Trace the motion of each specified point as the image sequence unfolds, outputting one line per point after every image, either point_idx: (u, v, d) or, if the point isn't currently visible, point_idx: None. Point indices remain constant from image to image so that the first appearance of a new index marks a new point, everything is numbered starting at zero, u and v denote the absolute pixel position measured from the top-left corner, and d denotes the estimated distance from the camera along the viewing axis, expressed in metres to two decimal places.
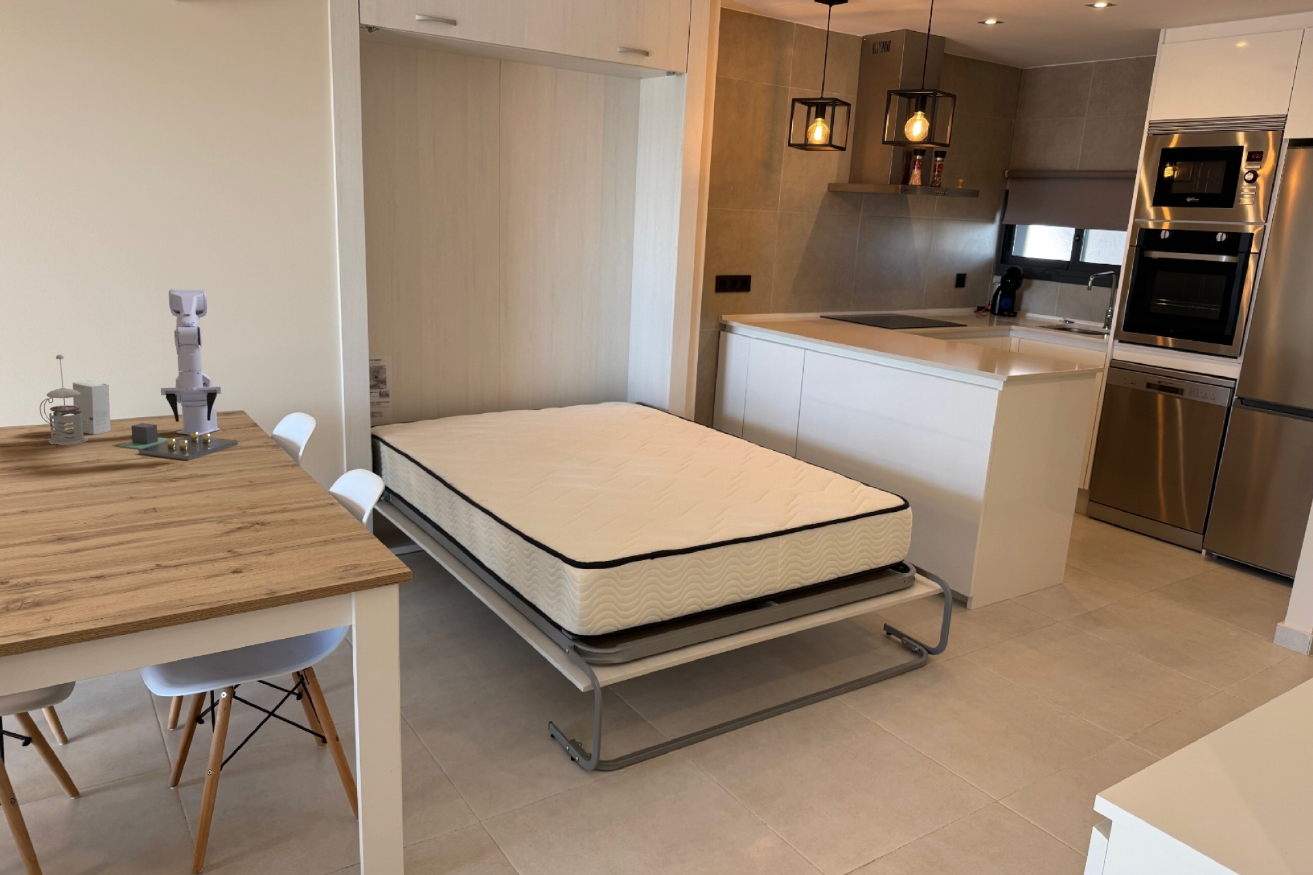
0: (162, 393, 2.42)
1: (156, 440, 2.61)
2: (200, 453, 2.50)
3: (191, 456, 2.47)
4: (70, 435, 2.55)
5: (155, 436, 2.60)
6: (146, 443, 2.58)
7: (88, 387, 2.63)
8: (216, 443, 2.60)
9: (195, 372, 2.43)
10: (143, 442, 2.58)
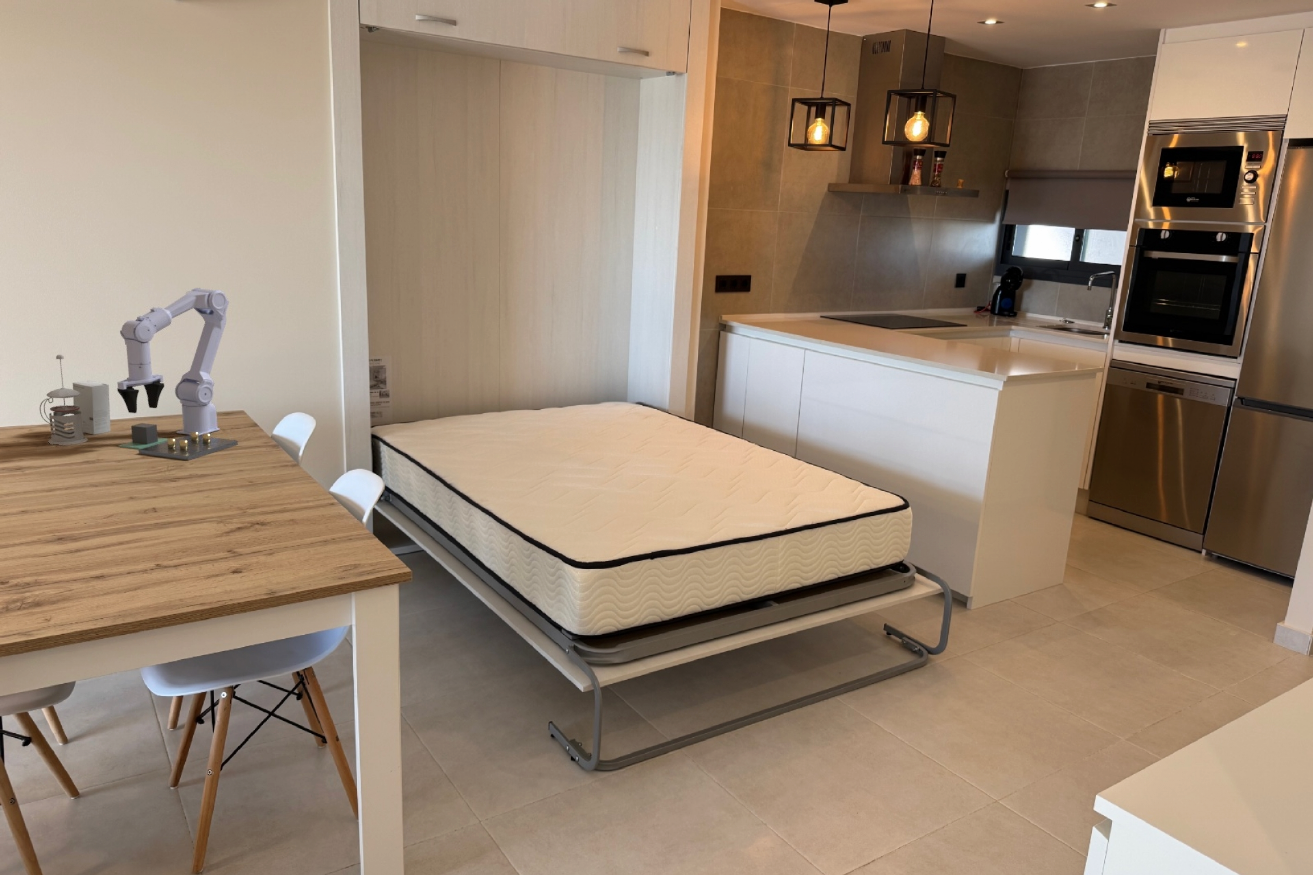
0: None
1: (156, 440, 2.61)
2: (200, 453, 2.50)
3: (191, 456, 2.47)
4: (70, 435, 2.55)
5: (155, 436, 2.60)
6: (146, 443, 2.58)
7: (88, 387, 2.63)
8: (216, 443, 2.60)
9: None
10: (143, 442, 2.58)
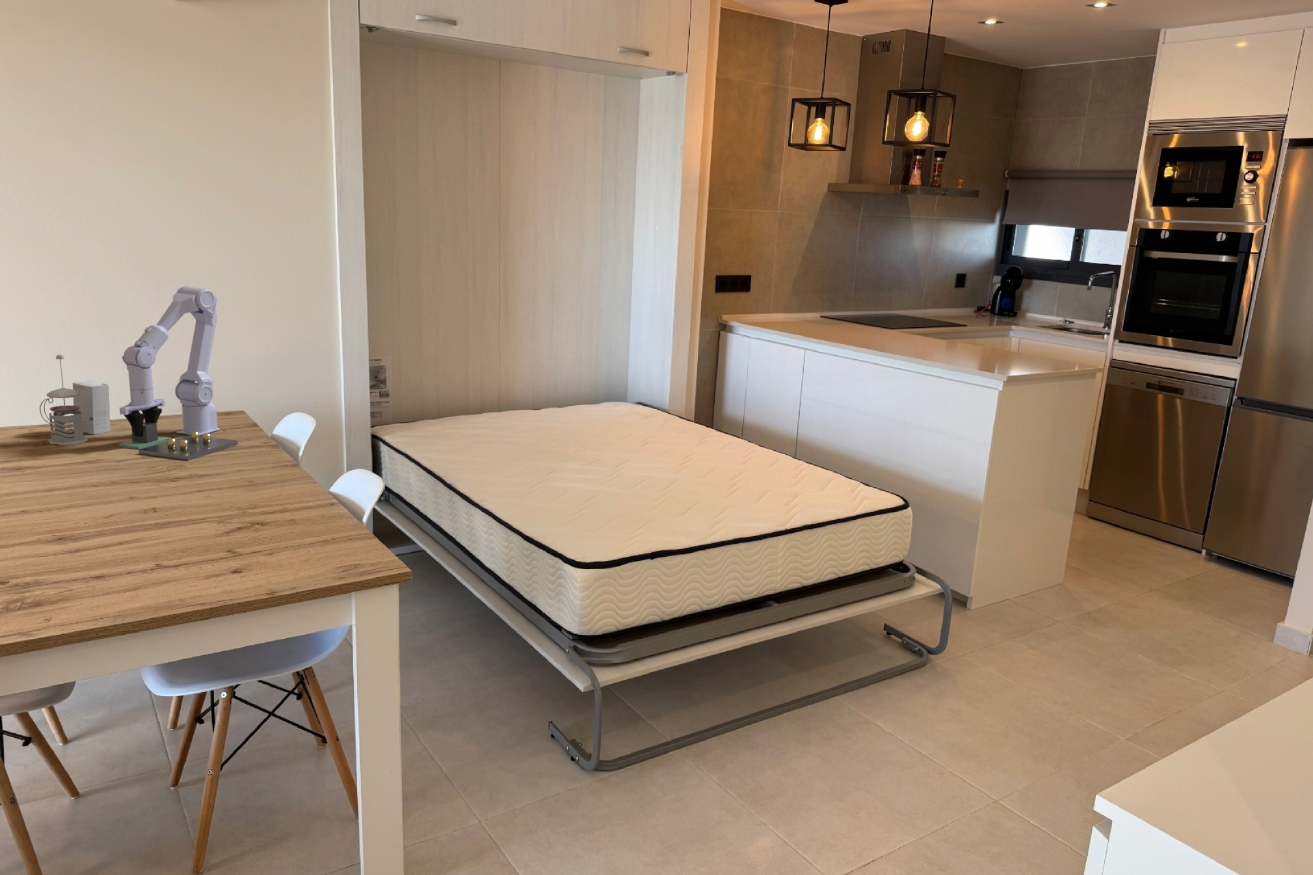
0: None
1: (156, 439, 2.61)
2: (200, 453, 2.50)
3: (191, 456, 2.47)
4: (70, 435, 2.55)
5: (155, 435, 2.60)
6: (146, 442, 2.58)
7: (88, 387, 2.63)
8: (216, 443, 2.60)
9: None
10: (143, 441, 2.58)
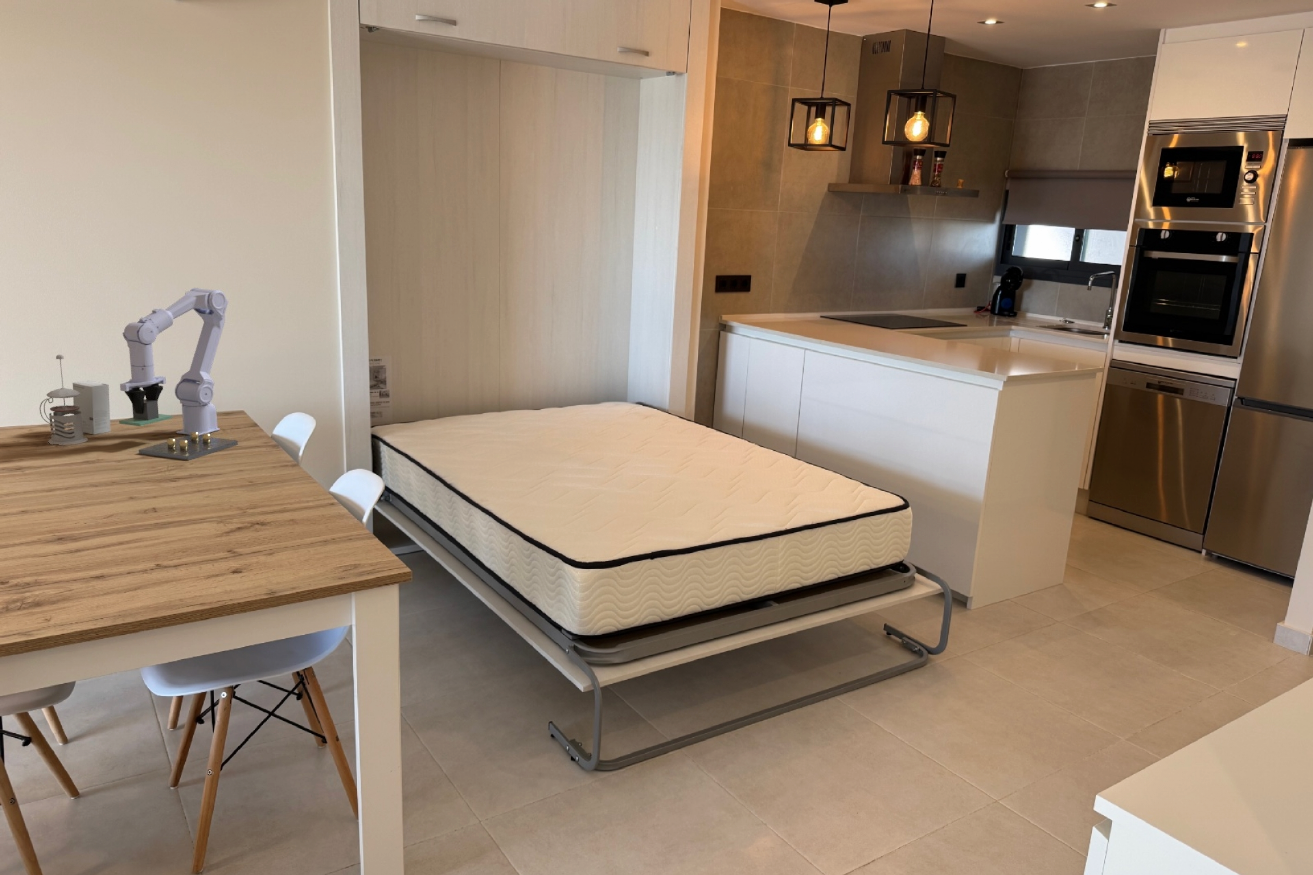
0: None
1: (157, 416, 2.59)
2: (200, 453, 2.50)
3: (191, 456, 2.47)
4: (70, 435, 2.55)
5: (156, 412, 2.59)
6: (147, 419, 2.56)
7: (88, 387, 2.63)
8: (216, 443, 2.60)
9: None
10: (144, 418, 2.56)
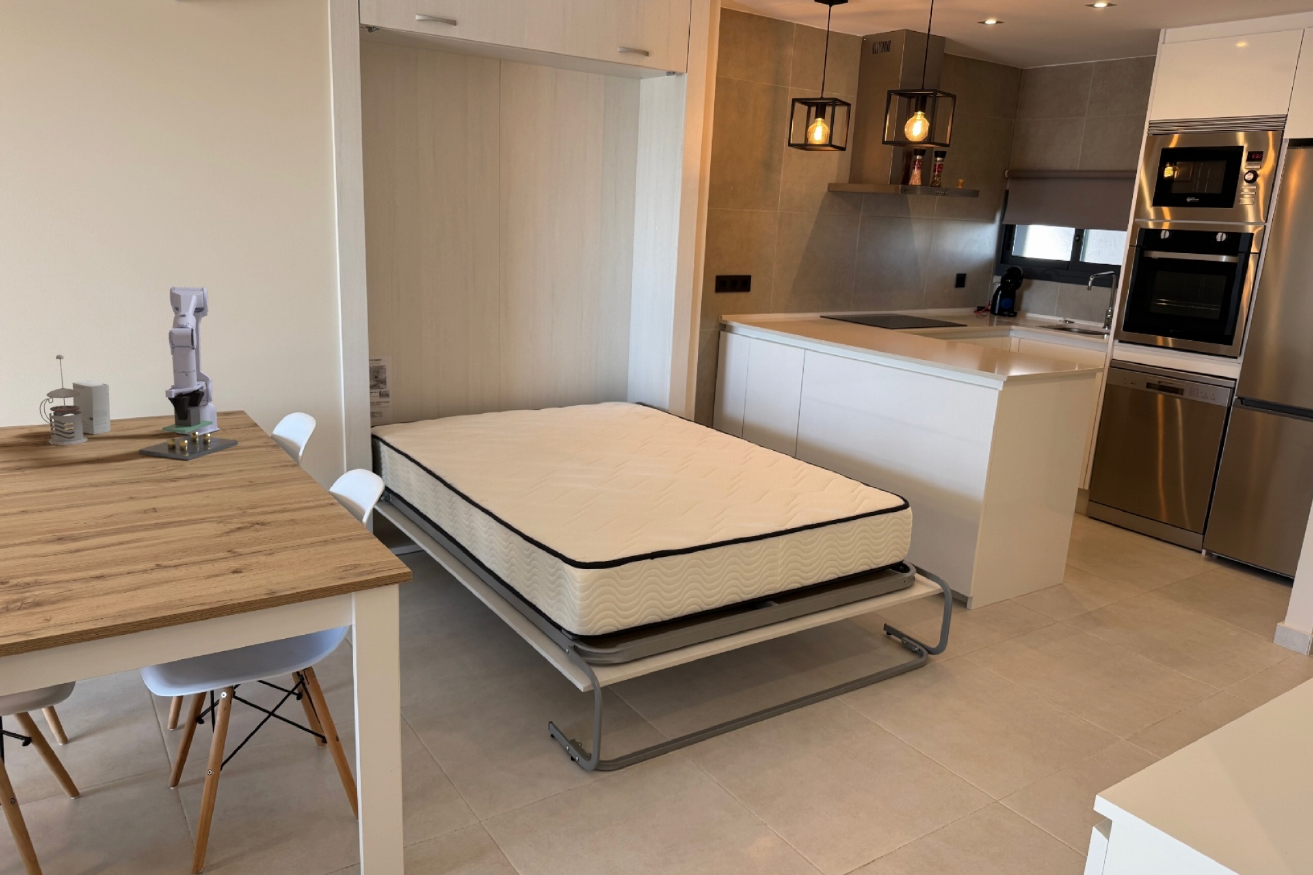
0: None
1: (199, 422, 2.56)
2: (200, 453, 2.50)
3: (191, 456, 2.47)
4: (70, 435, 2.55)
5: (198, 418, 2.56)
6: (190, 425, 2.53)
7: (88, 387, 2.63)
8: (216, 443, 2.60)
9: (173, 372, 2.51)
10: (187, 424, 2.53)
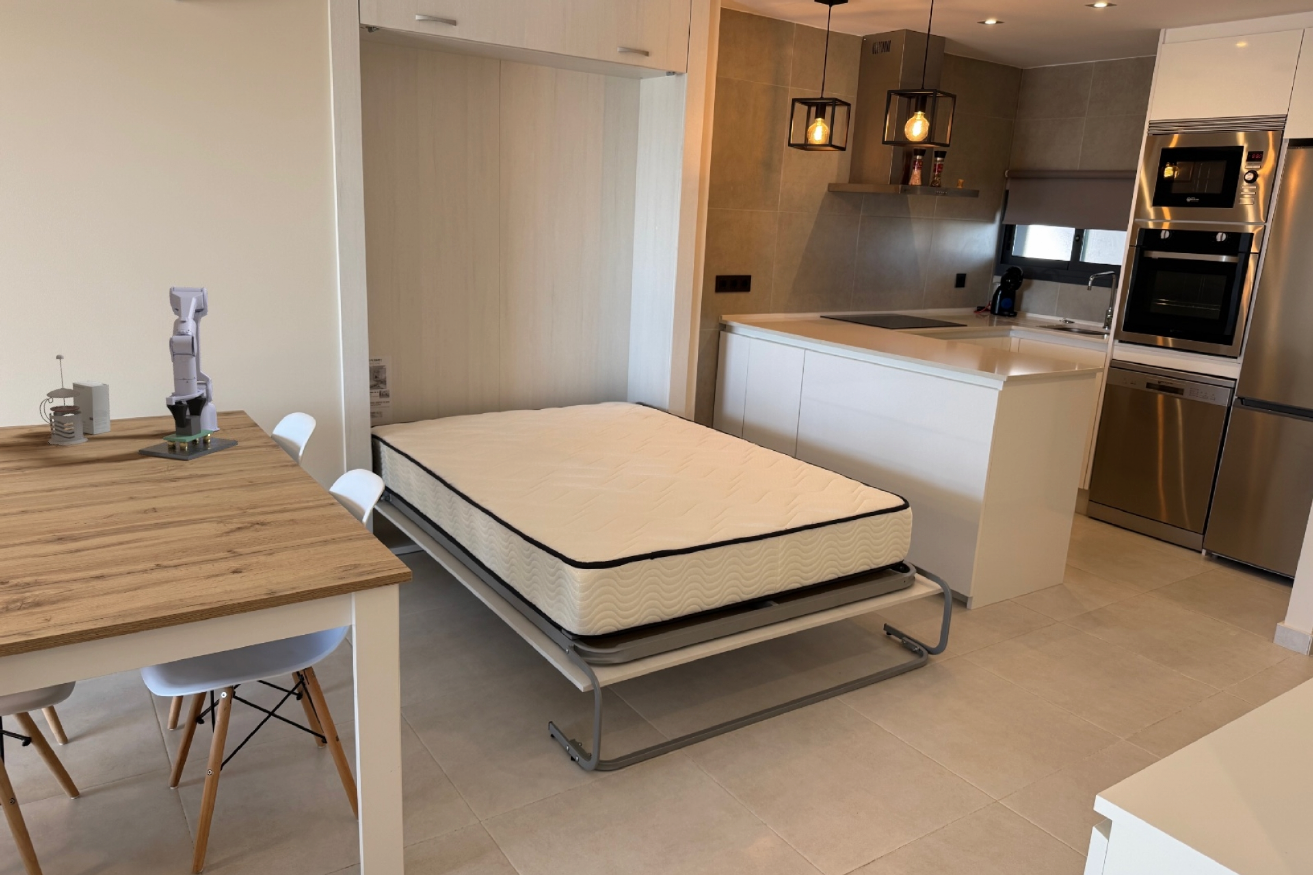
0: None
1: (199, 431, 2.57)
2: (200, 453, 2.50)
3: (191, 456, 2.47)
4: (70, 435, 2.55)
5: (198, 427, 2.56)
6: (190, 435, 2.54)
7: (88, 387, 2.63)
8: (216, 443, 2.60)
9: (174, 379, 2.51)
10: (187, 434, 2.54)
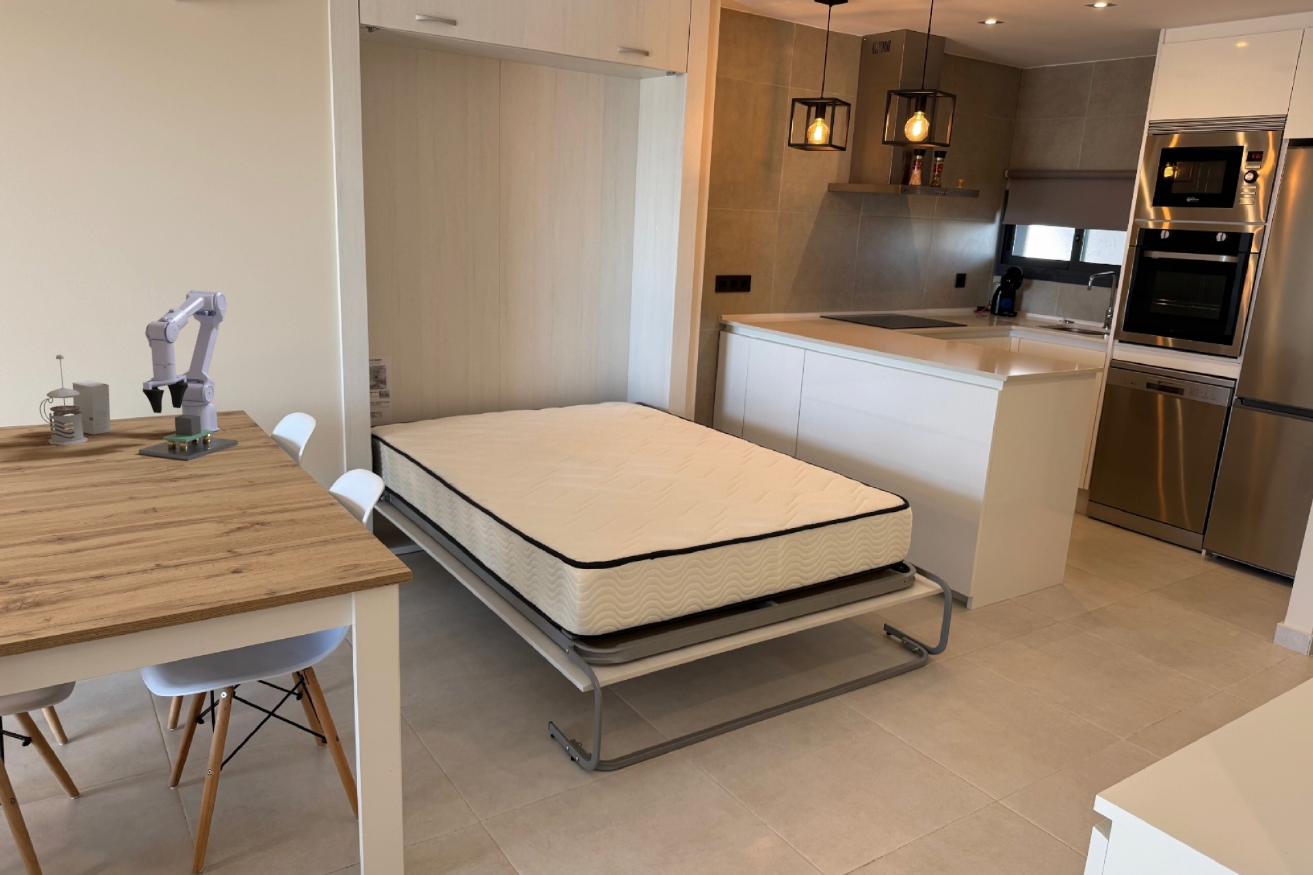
0: None
1: (199, 431, 2.57)
2: (200, 453, 2.50)
3: (191, 456, 2.47)
4: (70, 435, 2.55)
5: (198, 427, 2.56)
6: (190, 435, 2.54)
7: (88, 387, 2.63)
8: (216, 443, 2.60)
9: None
10: (187, 434, 2.54)
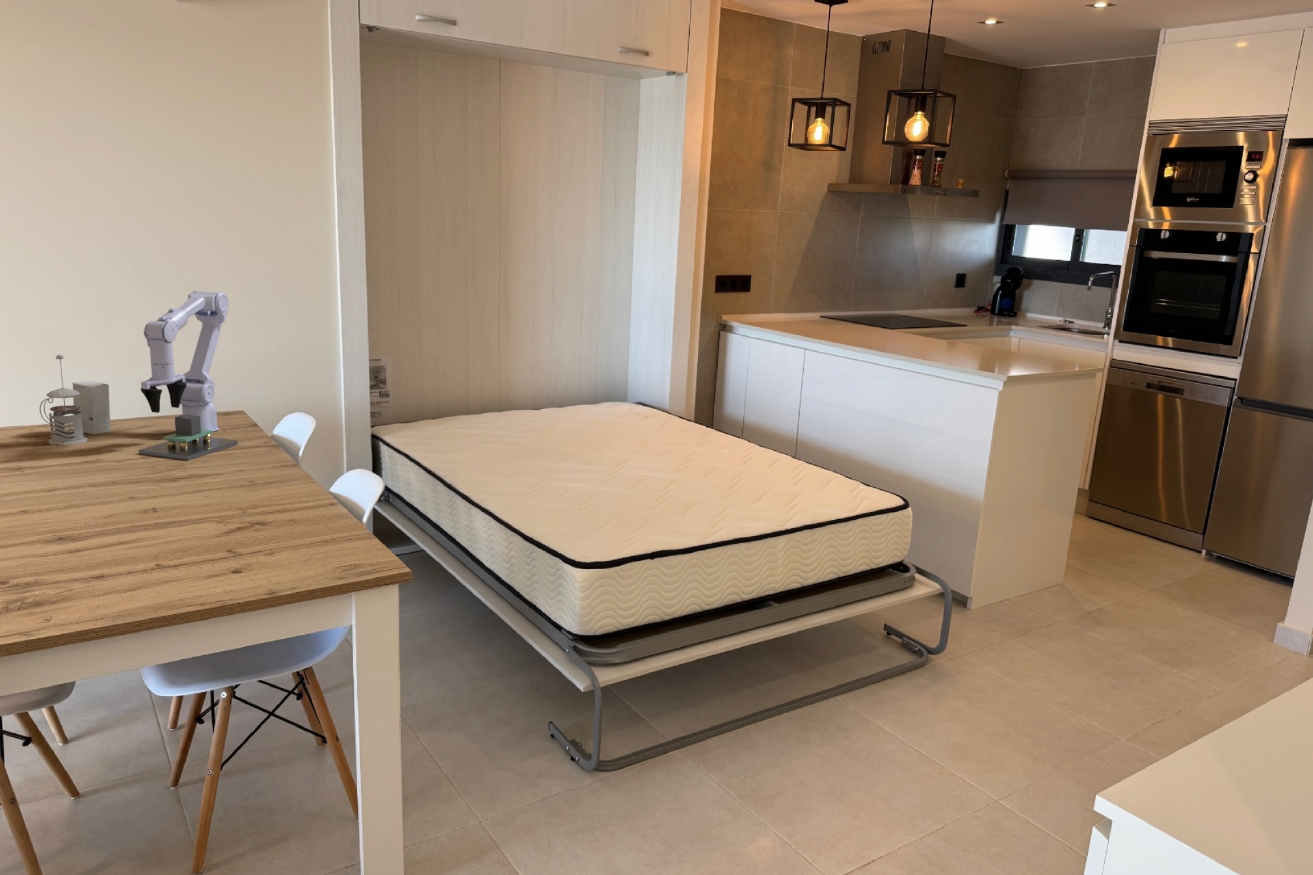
0: None
1: (199, 431, 2.57)
2: (200, 453, 2.50)
3: (191, 456, 2.47)
4: (70, 435, 2.55)
5: (198, 427, 2.56)
6: (190, 435, 2.54)
7: (88, 387, 2.63)
8: (216, 443, 2.60)
9: None
10: (187, 434, 2.54)
